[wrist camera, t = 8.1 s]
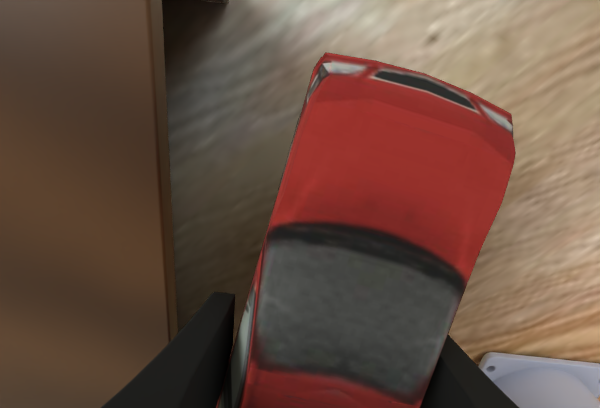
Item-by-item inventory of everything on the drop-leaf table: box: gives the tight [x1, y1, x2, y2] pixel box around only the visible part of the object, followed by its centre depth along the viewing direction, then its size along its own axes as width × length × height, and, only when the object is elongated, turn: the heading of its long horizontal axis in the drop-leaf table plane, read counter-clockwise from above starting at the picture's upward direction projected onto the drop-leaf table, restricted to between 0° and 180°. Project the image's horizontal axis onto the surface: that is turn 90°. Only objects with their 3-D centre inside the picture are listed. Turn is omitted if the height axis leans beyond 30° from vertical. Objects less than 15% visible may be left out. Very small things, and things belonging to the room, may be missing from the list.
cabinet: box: [0, 0, 229, 408], centre depth 12 cm, size 20×8×7 cm, turn 173°
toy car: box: [216, 53, 515, 408], centre depth 9 cm, size 6×15×5 cm, turn 159°
